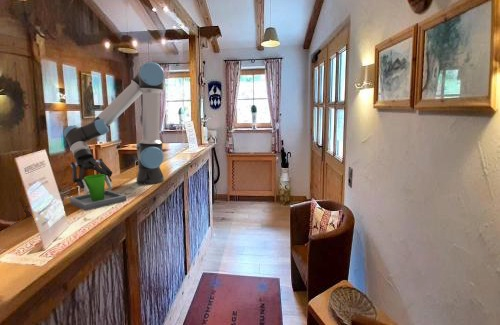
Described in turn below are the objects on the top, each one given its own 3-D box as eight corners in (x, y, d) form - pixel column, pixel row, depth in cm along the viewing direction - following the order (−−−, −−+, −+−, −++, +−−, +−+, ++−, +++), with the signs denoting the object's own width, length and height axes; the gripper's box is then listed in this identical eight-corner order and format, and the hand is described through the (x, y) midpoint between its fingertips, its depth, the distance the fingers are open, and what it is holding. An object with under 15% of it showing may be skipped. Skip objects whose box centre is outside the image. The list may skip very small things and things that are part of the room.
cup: (100, 202, 142) (96, 178, 140) (82, 202, 144) (78, 178, 142) (112, 196, 151) (109, 174, 149) (95, 196, 153) (92, 174, 151)
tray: (109, 194, 160) (108, 189, 160) (126, 200, 148) (125, 195, 148) (70, 203, 147) (69, 197, 147) (85, 210, 135) (84, 205, 135)
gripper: (104, 155, 163) (121, 190, 155) (54, 161, 147) (71, 200, 139) (107, 145, 158) (125, 180, 150) (57, 150, 142) (74, 190, 134)
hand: (99, 190), depth 145 cm, fingers open, 10 cm apart
